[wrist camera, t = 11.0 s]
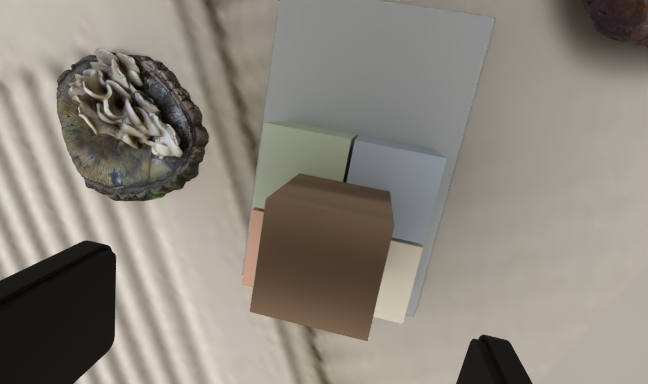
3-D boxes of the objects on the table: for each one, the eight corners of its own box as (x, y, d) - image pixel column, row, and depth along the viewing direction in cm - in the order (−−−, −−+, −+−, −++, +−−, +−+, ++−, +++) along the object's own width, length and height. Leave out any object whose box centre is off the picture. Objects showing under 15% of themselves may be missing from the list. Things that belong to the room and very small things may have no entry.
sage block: (286, 120, 24) (264, 122, 19) (356, 134, 23) (350, 139, 19) (276, 189, 25) (252, 206, 20) (342, 203, 25) (334, 224, 20)
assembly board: (285, -10, 23) (281, -15, 22) (490, 21, 22) (495, 17, 21) (246, 269, 28) (242, 274, 27) (412, 309, 26) (414, 316, 26)
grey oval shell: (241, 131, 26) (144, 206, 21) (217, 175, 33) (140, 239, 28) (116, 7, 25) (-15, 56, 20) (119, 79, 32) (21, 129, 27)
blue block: (359, 134, 23) (354, 140, 19) (433, 148, 23) (446, 158, 18) (345, 204, 24) (337, 225, 20) (415, 219, 24) (423, 244, 19)
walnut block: (299, 173, 20) (265, 198, 14) (389, 191, 19) (394, 226, 13) (286, 256, 21) (249, 311, 15) (370, 275, 20) (367, 341, 14)
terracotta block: (275, 191, 25) (252, 209, 20) (342, 206, 25) (333, 228, 20) (266, 253, 26) (241, 284, 22) (329, 268, 26) (318, 303, 21)
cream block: (345, 206, 25) (337, 228, 20) (414, 221, 24) (423, 247, 19) (332, 269, 26) (322, 304, 21) (398, 285, 25) (402, 324, 21)
